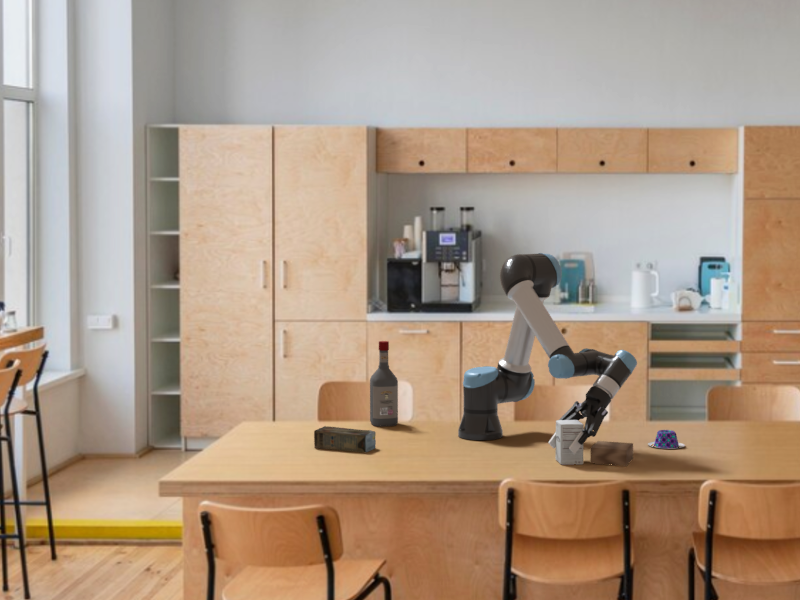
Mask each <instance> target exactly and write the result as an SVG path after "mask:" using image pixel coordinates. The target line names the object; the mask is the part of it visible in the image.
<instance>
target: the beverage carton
mask: <svg viewBox="0 0 800 600" xmlns="http://www.w3.org/2000/svg"><path fill="white" fill-rule="evenodd" d="M313 433H314V434H313V438H314V439H313V440H314V441H313V443H314V449H315V448H316V449H323V450H324V449H325V450H335V451H343V452H344V451H346V452H356V453H368V452H371V451H372V450H374V449H376V433H377V432H376V431H373V430H370V429H355V428H345V427H339V426H338V427H336V426H326V425H324V426H322V427H319V428H318V429H315V430H314V431H313Z"/></svg>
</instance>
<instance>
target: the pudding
mask: <svg viewBox="0 0 800 600" xmlns="http://www.w3.org/2000/svg"><path fill="white" fill-rule="evenodd" d="M652 444H654V445H653V446H656V447H653V446H651V445H652ZM647 445H648V446H649V447H652V448H657V449H666V450H674V449H681V448H684V447H686V444H685V443H681V442H679V440H678V437H677V433H676V432H675V431H674V430H672V429H671V430H670V429H660V430H657V433H656V436H655V439H654V441H651V442H648V443H647ZM679 446H680V447H679ZM678 447H679V448H678Z"/></svg>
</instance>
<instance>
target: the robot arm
mask: <svg viewBox="0 0 800 600" xmlns="http://www.w3.org/2000/svg"><path fill="white" fill-rule="evenodd" d="M562 271H563V270H562V266H561V265H560V263H559V261H558V259H557V258H556V257H555V256H554V255H553V254H550V253H542V252H540V253H526V254H525V253H524V254H523V253H522V254H520V253H518V254H514V255H511V256H509V257H508V258H507V259H506V260H505V261H504V262H503V264H502V265H501V268H500V273H499V279H500V281H499V282H500V285H501V288H502V290H503V292H504V294H505V296H506V297H507V299H508V300H511V301H513V302H514V304H515V305H516V306H515V310H514V315H513V319H512V322H511V323H512V324H511V328H510V331H509V336H508V339H507V344H506V348H505V352H504V357H502V358H500V359H499V360H498V363H497V367H496V366H475V367H472V368H469V369H467V370H466V371H465V372H464V374H463V381H462V384H463V385H462V386H463V387H462V389H463V411H462V412H463V414H462V417H461V421H460V423H459V425H458V431H457V433H458V437H459V438H461V439H464V440H470V441H471V440H472V441H473V440H474V441H491V440H499V439H501V438H503V433H504V432H503V427H502V424H501V421H500V419H499V415H498V414H499V413H498V404H499V405H501V404H504V403H505V404H506V403H517V402H520V401H523V400H526V399H527V398H529V397H530V396H531V395H532V393H533V391H534V389H535V383H536V381H535V379H534V377H535V376H534V373H533V371H532V367H531V365H530V357H531V354H532V349H533V347H534V346H533V345H534V341H535V338H536V339H537V341H538V343H539V344H540V346H541V347H542V349H543V351H544V352H545V354H546V355H547V357H548V358H549V360H548V363H547V366H548V372H549V373H550V374H549V375H550V376H551V377H553V378H555V379H565V380H566V379H570V378H575V377H586V376H598V377H597V378H596V380H595V381H594V382H593V384H592V386H591V387H590V388H589V389H588V391H587V392H586V393H585V399H584V401H582V402H579V401H577V400H576V401H575V402H574V403H573V405H572V406H571V407H570V408H569V409H568V410H567V411H566V412H565V413H564V414H563V415H562V416H561V417H560V418H559V419H558V420H578V421H580V420H584V419H585V418H586V420H585V422H584V429H583V430H582V431H583V432H584V433H583V432H580V433H579V435H578V436H577V437H576V439H575V440H574V441H573V443H572V444H571V446H570V447H569V449H570V450H571V451H572V453H573V454H576V452H577V451H578V449H579V448H580V447H581V445H583V446H584V445H585V442H586V441H587V439H588V438H590V437H596V436H597V434H598V431H599V429H600V427H601V425H602V424H603V420H604V419H605V417H607V415H608V414H609V412H608V410H607V408H608V406H609V405H610V403H611V402H612V400H613V399H614V398H615V396H616V395H617V393H618V392H619V390H621V388H622V387H623V385H624V384H625V382H626V381H627V380H628V379H629V377H630V376H631V375H632V374H633V372H634V371H635V369H636V367H637V365H638V361H637V359H636V357H635V355H633V354H632V353H631V352H629V351H627V350H625V349H619V350H617V352H615V354H614V355H613V354H608V353H606V352H602V351H598V350H597V349H594V348H583V349H581V350H580V351H579V352H574V351H573V349H572V348H571V346H570V345H569V343H568V341H567V340H566V338H565V336H564V335H563V333H562V332H561V330H560V328H559V327H558V326H557V324H556V323H555V321H554V319H553V318H552V316H551V314H550V313H549V311H548V310H547V308H546V306H545V305H544V301H545V300H546V299H548V298H550V295H551V291H552V289H553V288H554V289H555V287H557V286H558V285H559V284H560V283H561V281H562V276H563V272H562ZM547 443H548V445H550V447H551V448H553V449H556V431H554V433H553V435H552V436H551V437H550V439H549V441H548V442H547Z"/></svg>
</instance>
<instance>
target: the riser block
mask: <svg viewBox="0 0 800 600" xmlns="http://www.w3.org/2000/svg"><path fill="white" fill-rule="evenodd" d="M632 459H633V460H634V443H632V442H622V441H621V442H620V441H607V440H606V441H605V440H603V441H602V440H597V441H596V443H594V444H593V445H591V447H590V463H595V464H594V465H603V464H610V465H609V466H616V465H623V466H622V467H628V465H629V464H630V463H631V462H632V461H633V460H632ZM631 460H632V461H631ZM630 461H631V462H630ZM629 462H630V463H629ZM628 463H629V464H628ZM611 464H612V465H611ZM627 464H628V465H627Z"/></svg>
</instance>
